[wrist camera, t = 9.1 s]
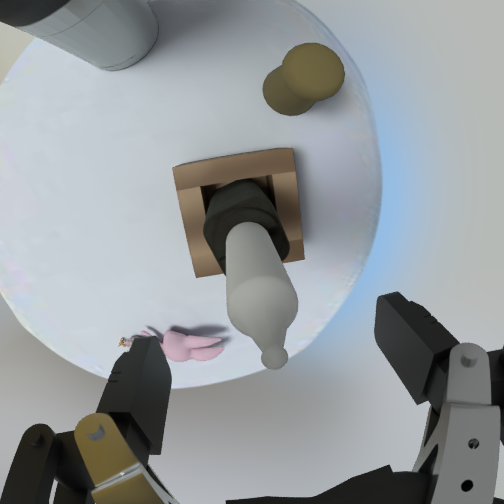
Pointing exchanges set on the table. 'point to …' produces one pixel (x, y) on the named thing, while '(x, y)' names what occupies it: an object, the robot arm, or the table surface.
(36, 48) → the table surface
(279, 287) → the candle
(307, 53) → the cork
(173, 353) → the pink rainbow-tailed figurine
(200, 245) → the box
